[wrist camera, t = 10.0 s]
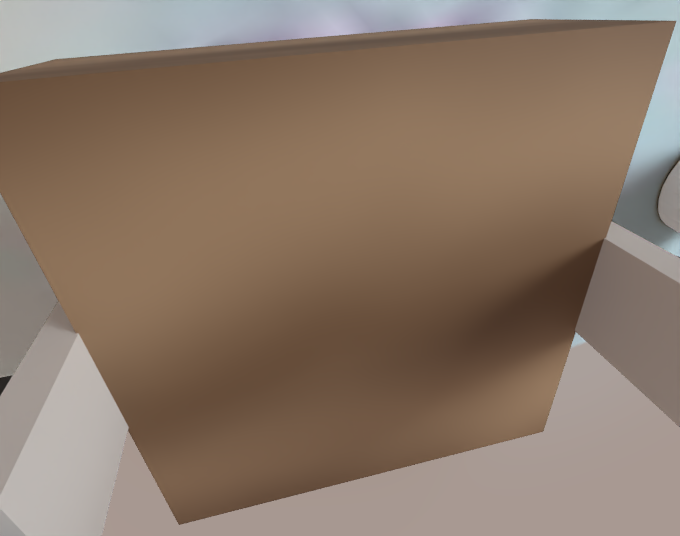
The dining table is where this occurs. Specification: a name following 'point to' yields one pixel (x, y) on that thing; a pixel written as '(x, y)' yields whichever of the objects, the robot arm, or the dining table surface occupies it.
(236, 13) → the dining table surface
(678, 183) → the cup
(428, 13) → the dining table surface
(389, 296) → the board
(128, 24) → the dining table surface
